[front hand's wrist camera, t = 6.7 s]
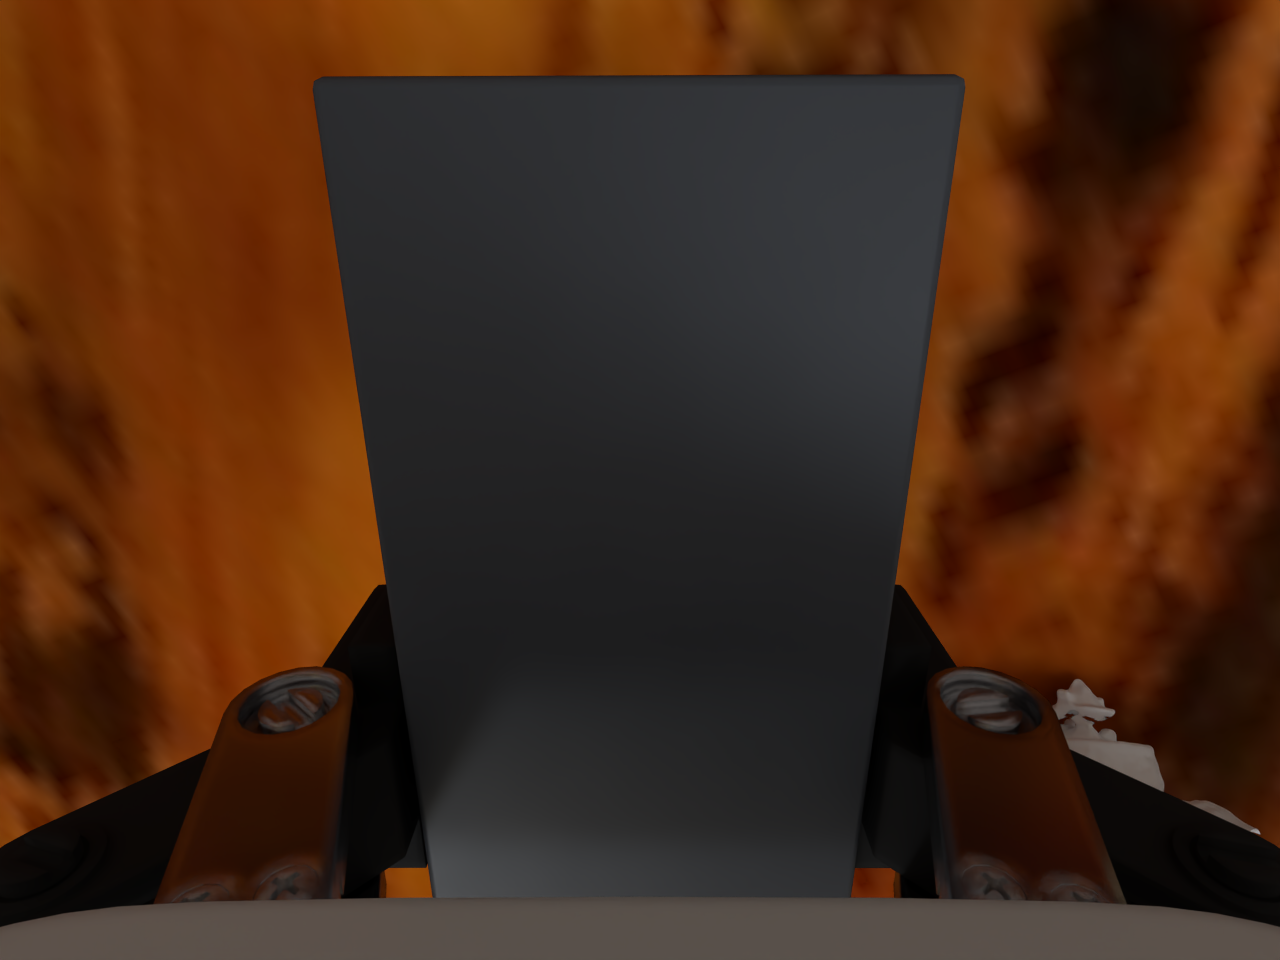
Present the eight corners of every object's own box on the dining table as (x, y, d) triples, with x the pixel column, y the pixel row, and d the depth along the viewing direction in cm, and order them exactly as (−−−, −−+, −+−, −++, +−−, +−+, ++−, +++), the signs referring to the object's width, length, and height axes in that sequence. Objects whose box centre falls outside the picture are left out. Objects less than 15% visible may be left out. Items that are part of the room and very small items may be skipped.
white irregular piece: (1040, 659, 30) (1297, 744, 24) (1007, 784, 30) (1256, 902, 24) (949, 646, 25) (1247, 750, 19) (909, 797, 25) (1195, 953, 18)
